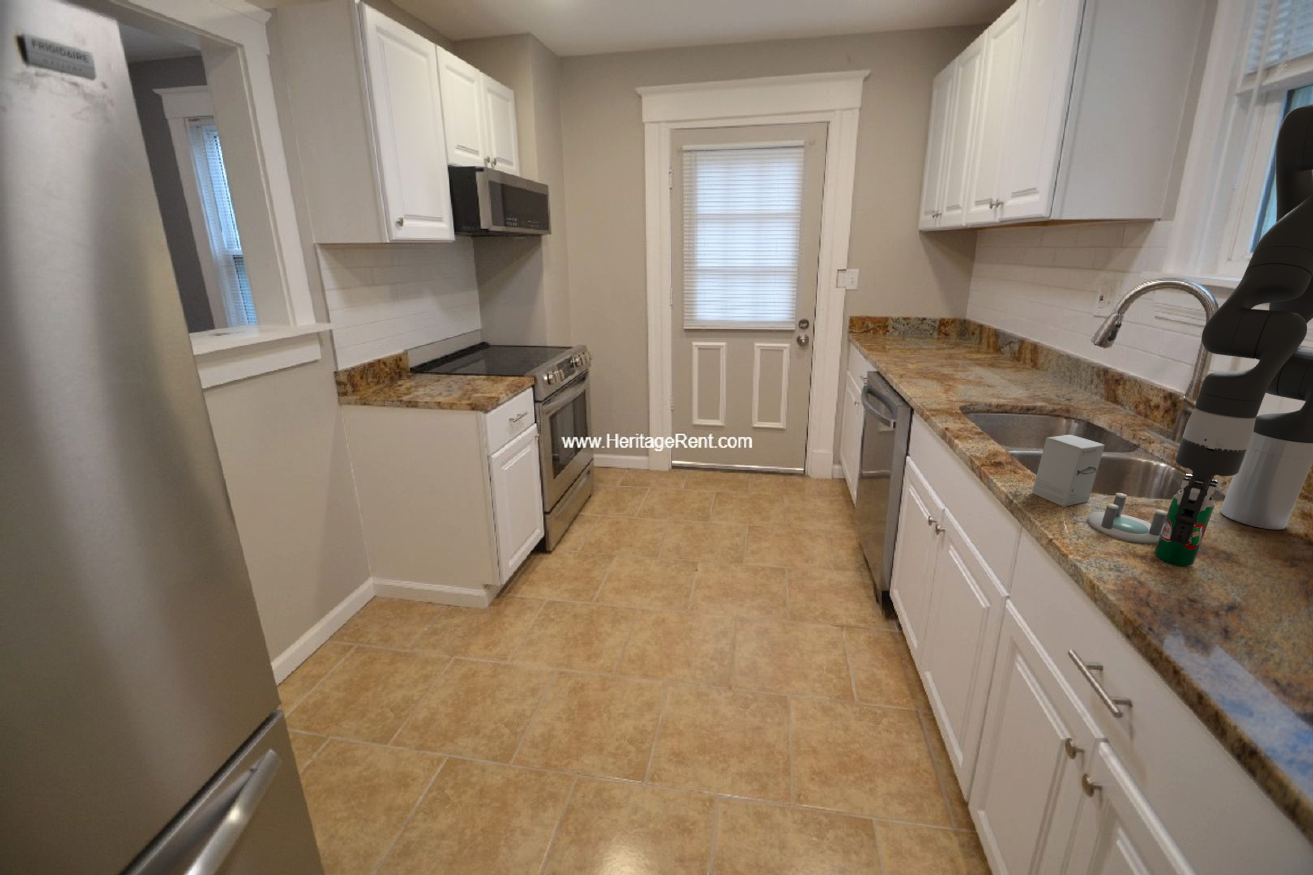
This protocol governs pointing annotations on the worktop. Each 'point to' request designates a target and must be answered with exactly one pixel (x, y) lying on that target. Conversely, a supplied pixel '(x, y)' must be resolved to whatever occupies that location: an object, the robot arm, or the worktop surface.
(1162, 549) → the soda can
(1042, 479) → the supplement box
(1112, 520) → the pin socket
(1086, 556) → the worktop surface
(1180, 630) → the worktop surface
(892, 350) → the worktop surface
